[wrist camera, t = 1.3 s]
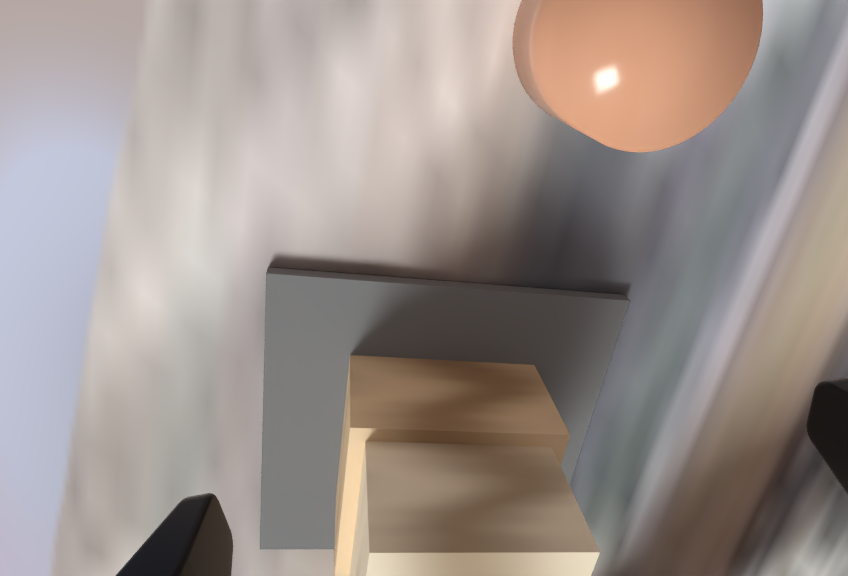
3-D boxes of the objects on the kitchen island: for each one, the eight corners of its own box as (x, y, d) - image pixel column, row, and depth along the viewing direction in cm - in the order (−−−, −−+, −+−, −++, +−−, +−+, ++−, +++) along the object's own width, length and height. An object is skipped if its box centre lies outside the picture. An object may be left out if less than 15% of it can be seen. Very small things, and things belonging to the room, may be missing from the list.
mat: (624, 294, 22) (629, 300, 21) (545, 539, 27) (548, 548, 27) (267, 267, 19) (266, 273, 19) (261, 539, 25) (259, 549, 25)
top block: (551, 446, 19) (599, 552, 15) (513, 574, 21) (547, 690, 18) (365, 441, 18) (369, 553, 14) (348, 575, 20) (349, 698, 17)
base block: (534, 364, 22) (570, 435, 18) (498, 500, 25) (523, 583, 21) (350, 354, 21) (350, 427, 17) (335, 498, 24) (333, 585, 20)
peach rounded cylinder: (702, -47, 17) (797, -61, 13) (648, 132, 19) (718, 162, 15) (533, -79, 16) (586, -102, 12) (497, 113, 18) (533, 139, 15)
